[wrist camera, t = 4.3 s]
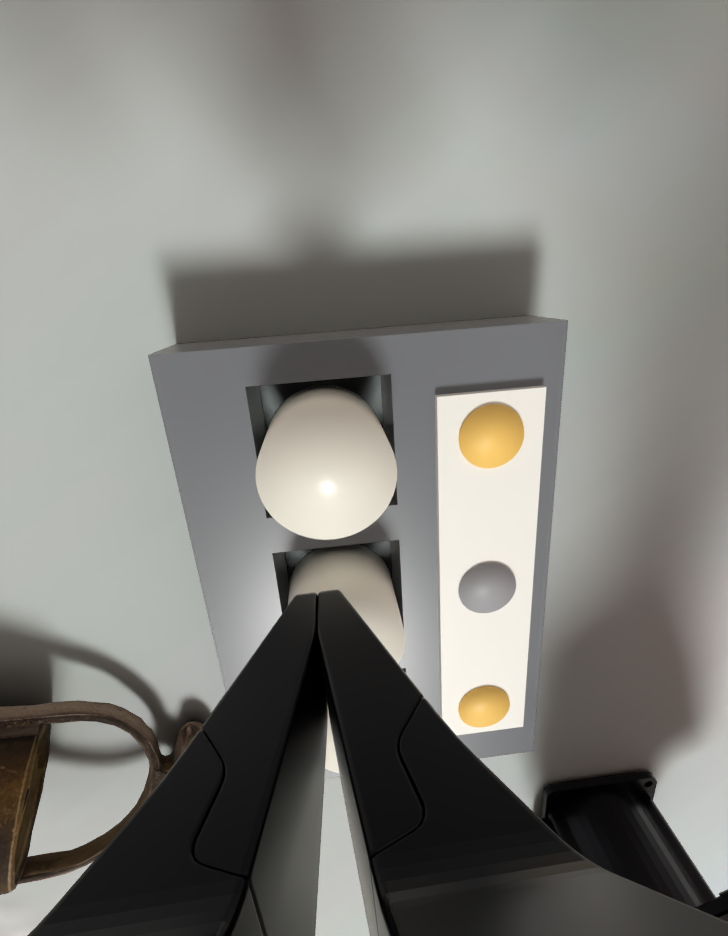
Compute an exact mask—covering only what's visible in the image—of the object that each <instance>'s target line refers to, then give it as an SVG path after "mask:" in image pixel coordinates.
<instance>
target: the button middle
mask: <svg viewBox="0 0 728 936" xmlns="http://www.w3.org/2000/svg"><path fill="white" fill-rule="evenodd" d="M336 589H338V590H340V591H341V592H342V593H343V595H344V596H345V597H346V598H347V600H348V601H349V602H350V603H351V605H352V606H353V607H354V609H355V610H356V611H357V612H358V614H359V615H360V616H361V617H362V619H363V620H364V621H365V622H366V624H367V625H368V626H369V627H370V629H371V630H372V631H373V633H374V634H375V635H376V636H377V638H378V639H379V640H380V641H381V643H382V644H383V645H384V646H385V648H386V649H387V650H388V651H389V653H390V654H391V655H392V657H393V658H394V659H395V660H396V662H397V663H398V664H399V662H400V660H401V658H402V656H403V653H404V649H405V632H404V628H403V624H402V620H401V616H400V612H399V608H398V604H397V600H396V596H395V592H394V588H393V584H392V580H391V576H390V572H389V570H388V567H387V565H386V564H385V562H384V561H383V560H382V558H381V557H380V556H379V555H377V554H376V553H375V552H374V551H372V550H370V549H369V548H367V547H364V546H362V545H359V544H354V545H344V546H335V547H326V548H316V549H314V550H312V551H311V552H309V553H308V554H307V555H305V556H304V557H303V558H302V559H301V560H300V561H299V563H298V564H297V565H296V567H295V569H294V571H293V573H292V576H291V580H290V588H289V598H288V605H289V603H290V602H291V601H292V599H293V598H294V596H296V595H298V594H305V593H313V592H315V593H317V595H318V594H319V593H320V592H321V591H328V590H336Z"/></svg>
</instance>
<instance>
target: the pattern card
mask: <svg viewBox="0 0 728 936" xmlns="http://www.w3.org/2000/svg"><path fill="white" fill-rule="evenodd" d="M545 401H546V387H545V386H543V385H541V386H530V387H519V388H508V389H497V390H486V391H474V392H463V393H452V394H441V395H435V429H436V488H437V546H438V605H439V663H440V717H441V718H442V719H443V720H444V721H445V723H446V724H447V725H448V726H449V727H450V728H451V730H452V731H453V732H454V733H455V734H456V735H464V734H472V733H479V732H487V731H494V730H502V729H509V728H517V727H523V722H524V707H525V692H526V678H527V663H528V649H529V634H530V620H531V605H532V590H533V576H534V561H535V547H536V532H537V517H538V503H539V488H540V474H541V459H542V444H543V430H544V415H545Z"/></svg>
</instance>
